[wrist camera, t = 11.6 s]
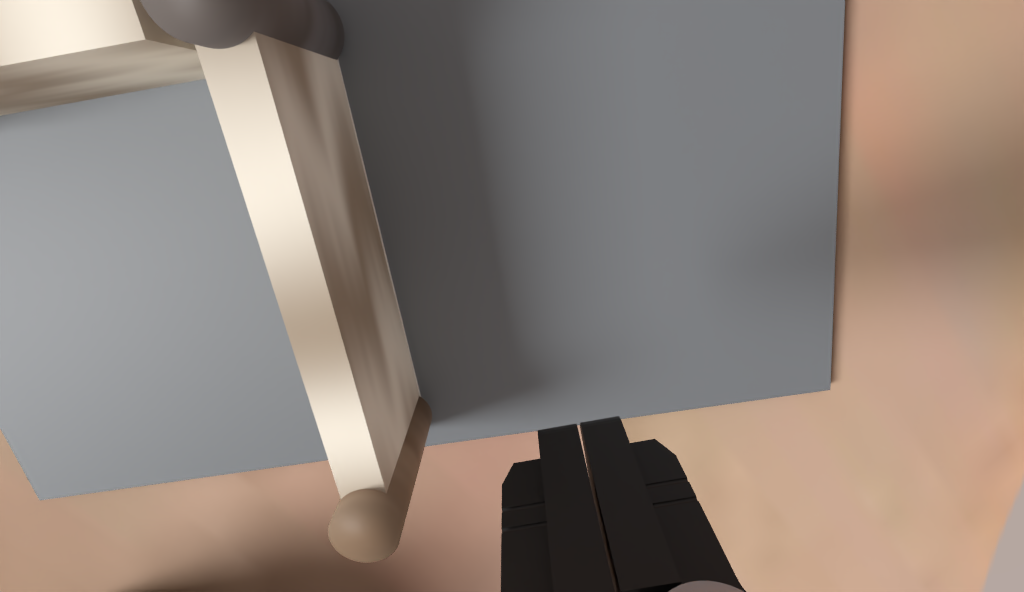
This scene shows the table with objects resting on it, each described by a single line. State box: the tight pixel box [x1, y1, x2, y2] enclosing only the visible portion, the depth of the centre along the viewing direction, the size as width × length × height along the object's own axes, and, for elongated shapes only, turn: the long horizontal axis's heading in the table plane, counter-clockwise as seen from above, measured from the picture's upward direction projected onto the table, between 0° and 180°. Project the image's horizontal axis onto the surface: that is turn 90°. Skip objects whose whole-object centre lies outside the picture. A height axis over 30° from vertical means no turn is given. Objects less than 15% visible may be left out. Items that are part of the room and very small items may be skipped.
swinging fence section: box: [140, 0, 432, 563], centre depth 14 cm, size 14×2×6 cm, turn 9°
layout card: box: [0, 0, 845, 500], centre depth 16 cm, size 22×30×1 cm
